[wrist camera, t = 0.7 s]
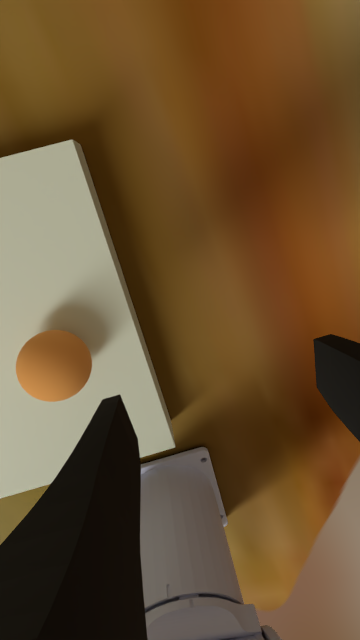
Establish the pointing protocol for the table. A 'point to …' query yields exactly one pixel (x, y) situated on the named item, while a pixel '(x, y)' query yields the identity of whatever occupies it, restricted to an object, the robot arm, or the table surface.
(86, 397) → the deck
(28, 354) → the ball
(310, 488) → the table surface
